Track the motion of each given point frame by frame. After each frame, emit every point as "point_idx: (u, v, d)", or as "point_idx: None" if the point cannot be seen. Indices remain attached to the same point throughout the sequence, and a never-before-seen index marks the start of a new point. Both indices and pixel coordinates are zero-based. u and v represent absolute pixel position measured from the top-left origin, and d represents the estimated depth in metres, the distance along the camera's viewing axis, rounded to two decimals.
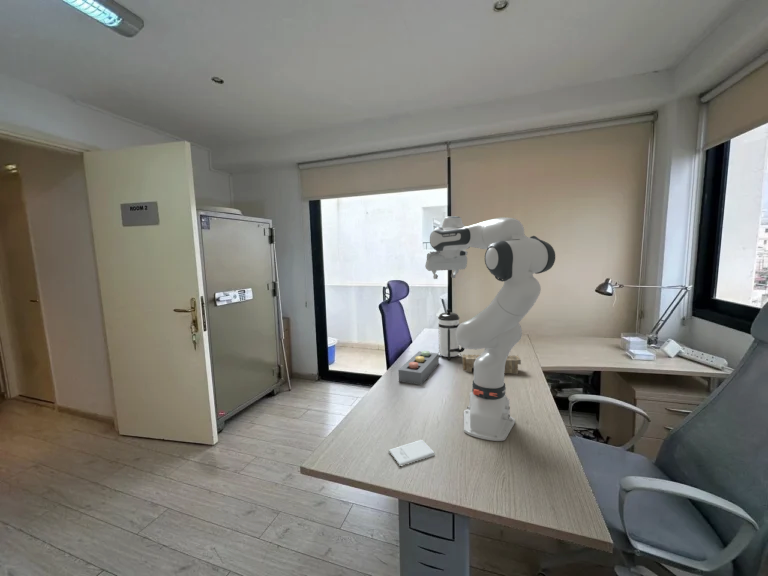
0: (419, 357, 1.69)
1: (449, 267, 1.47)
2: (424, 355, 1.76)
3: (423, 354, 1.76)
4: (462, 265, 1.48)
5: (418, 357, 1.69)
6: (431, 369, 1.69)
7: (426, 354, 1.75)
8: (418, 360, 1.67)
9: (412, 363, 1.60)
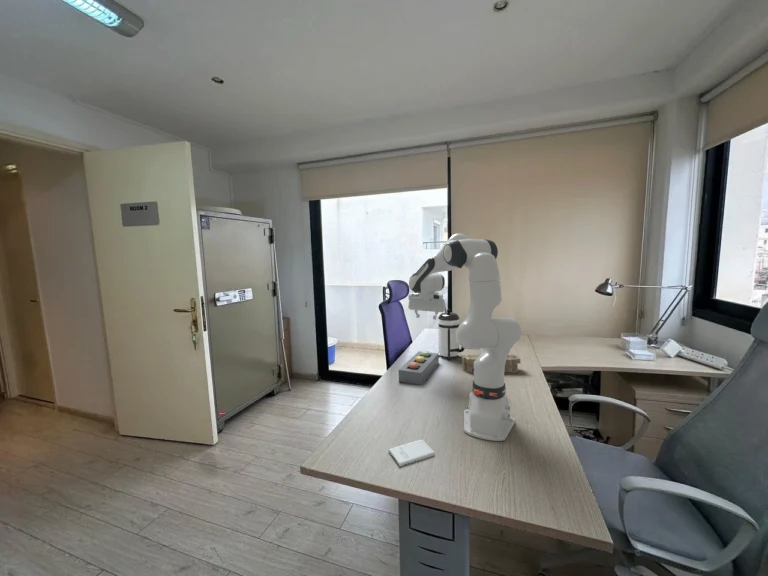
0: (419, 357, 1.69)
1: (427, 308, 1.71)
2: (424, 355, 1.76)
3: (423, 354, 1.76)
4: (439, 308, 1.69)
5: (418, 357, 1.69)
6: (431, 369, 1.69)
7: (426, 354, 1.75)
8: (418, 360, 1.67)
9: (412, 363, 1.60)
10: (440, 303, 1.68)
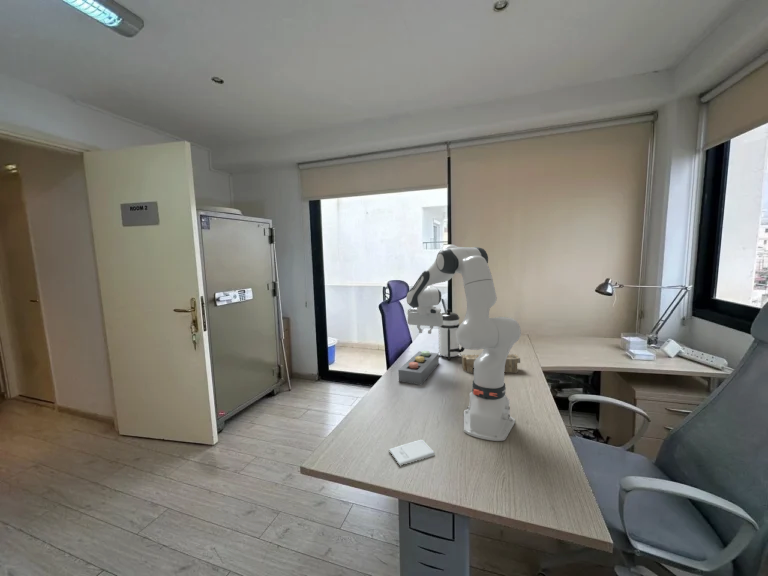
0: (419, 357, 1.69)
1: (425, 323, 1.74)
2: (424, 355, 1.76)
3: (423, 354, 1.76)
4: (436, 322, 1.71)
5: (418, 357, 1.69)
6: (431, 369, 1.69)
7: (426, 354, 1.75)
8: (418, 360, 1.67)
9: (412, 363, 1.60)
10: (437, 317, 1.70)
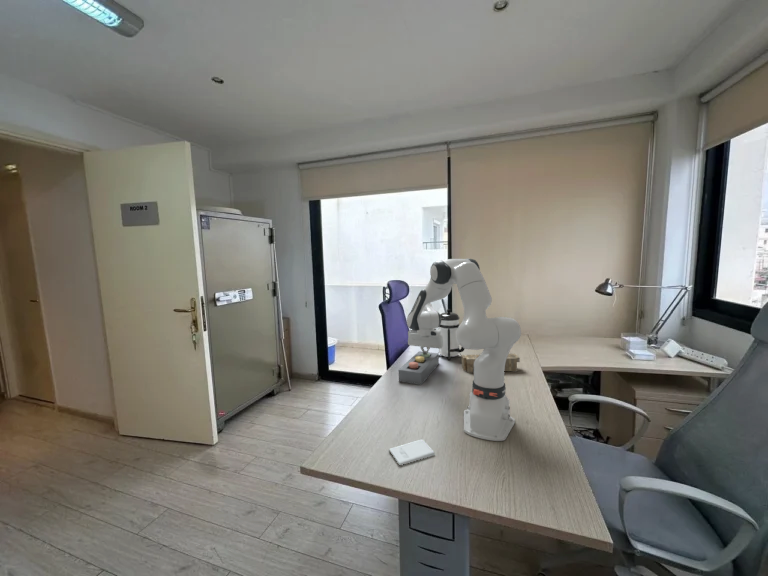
0: (419, 357, 1.69)
1: (426, 345, 1.75)
2: None
3: (423, 356, 1.76)
4: (437, 344, 1.72)
5: (418, 357, 1.69)
6: (431, 369, 1.69)
7: (426, 356, 1.75)
8: (418, 360, 1.67)
9: (412, 363, 1.60)
10: (437, 339, 1.71)
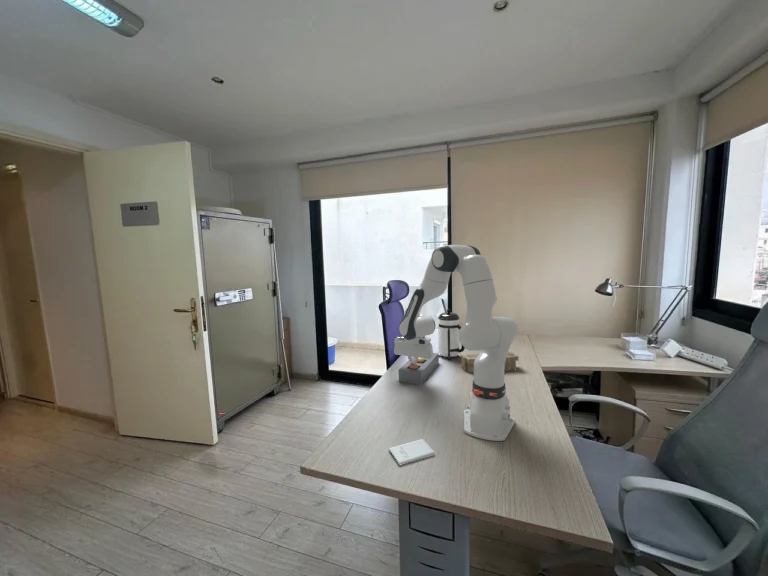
0: (419, 357, 1.69)
1: (414, 354, 1.57)
2: None
3: None
4: (426, 354, 1.54)
5: None
6: (431, 369, 1.69)
7: None
8: (418, 360, 1.67)
9: None
10: (426, 348, 1.53)
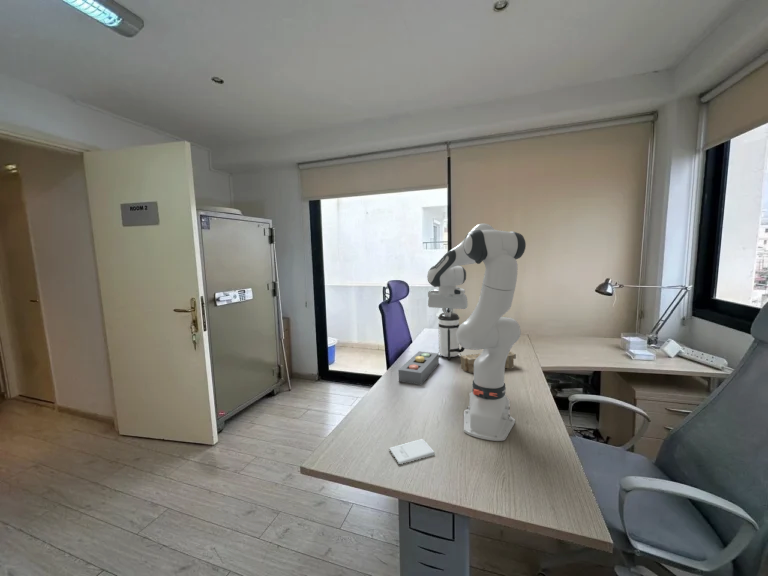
0: (419, 357, 1.69)
1: (448, 305, 1.59)
2: None
3: (423, 356, 1.76)
4: (461, 304, 1.56)
5: (418, 357, 1.69)
6: (431, 369, 1.69)
7: (426, 356, 1.75)
8: (418, 360, 1.67)
9: (412, 366, 1.60)
10: (462, 299, 1.55)
